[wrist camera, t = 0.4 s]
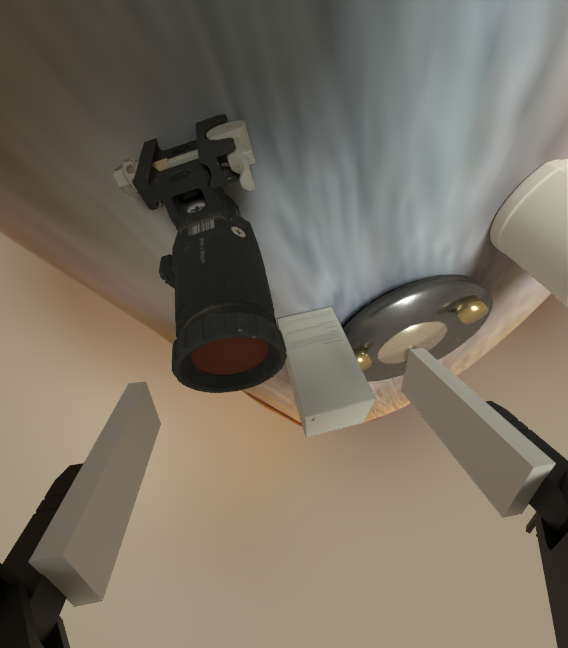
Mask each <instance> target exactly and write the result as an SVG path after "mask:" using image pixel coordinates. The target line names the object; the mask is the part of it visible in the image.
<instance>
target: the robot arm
mask: <svg viewBox="0 0 568 648" xmlns="http://www.w3.org/2000/svg"><path fill="white" fill-rule="evenodd" d="M401 391H402V392H403V393H404V395H405V396H406V397H407V398H408V400H409V401H410V402H411V403H412V405H413V406H414V407H415V408H416V410H417V411H418V412H419V413H420V415H421V416H422V417H423V418H424V419H425V421H426V422H427V423H428V425H429V426H430V427H431V428H432V429H433V431H434V432H435V433H436V435H437V436H438V437H439V438H440V440H441V441H442V442H443V443H444V445H445V446H446V447H447V448H448V450H449V451H450V452H451V454H452V455H453V456H454V457H455V459H456V460H457V461H458V462H459V464H460V465H461V466H462V467H463V469H464V470H465V471H466V472H467V474H468V475H469V476H470V477H471V479H472V480H473V481H474V482H475V483H476V485H477V486H478V487H479V489H480V490H481V491H482V492H483V493H484V495H485V496H486V497H487V499H488V500H489V501H490V502H491V504H492V505H493V506H494V507H495V509H496V510H497V511H498V512H499V514H500V515H501V516H502V517H507V516H513V515H518V514H522V513H523V511H524V510H525V508H526V507H527V505H528V504H530V505H531V506H532V507H533V508H534V509H535V510H536V513H535V515H534V516H533V518H532V519H531V520H530V522H529V523H528V524H527V526H526V532H528V533H531V531H532V530H533V528H534V527H535V526H536V531H537V534H536V536H537V537H538V542H539V547H540V553H541V558H542V564H543V570H544V575H545V580H546V585H547V591H548V597H549V602H550V608H551V613H552V618H553V624H554V629H555V635H556V641H557V646H558V648H568V461H567V460H566V459H565V458H564V457H563V456H561V455H560V454H559V453H558V452H557V451H556V450H554V449H553V448H552V447H551V446H550V445H548V444H547V443H546V442H545V441H544V440H542V439H541V438H540V437H539V436H538V435H536V434H535V433H534V432H533V431H532V430H529V429H528V427H526V425H524V424H523V423H522V422H520V421H518V419H517V418H516V417H515V416H514V415H512V414H511V413H510V412H509V411H508V410H506V409H505V408H503V407H501V406H499V405H497V404H496V403H494V402H492V401H486V402H485V401H483V400H482V399H481V398H480V397H479V396H478V395H477V394H476V393H475V392H474V391H472V390H471V389H470V388H469V387H468V386H467V385H465V384H464V383H463V382H462V381H461V380H460V379H459V378H457V377H456V376H455V375H454V374H453V373H452V372H451V371H449V370H448V369H447V368H446V367H445V366H444V365H443V364H441V363H440V362H439V361H438V360H437V359H436V358H435V357H433V356H432V355H431V354H430V353H429V352H428V351H427V350H425V349H424V348H417V349H410V350H409V355H408V359H407V364H406V369H405V374H404V378H403V383H402V388H401ZM160 425H161V423H160V420H159V417H158V414H157V412H156V409H155V406H154V403H153V400H152V398H151V395H150V392H149V389H148V386H147V383H146V382H139V383H130V384H128V385H127V387H126V389H125V391H124V393H123V394H122V396H121V398H120V400H119V401H118V403H117V405H116V407H115V409H114V410H113V412H112V414H111V416H110V418H109V419H108V421H107V423H106V425H105V427H104V428H103V430H102V432H101V434H100V435H99V437H98V439H97V441H96V442H95V444H94V446H93V448H92V450H91V451H90V453H89V455H88V457H87V459H86V460H85V462H84V463H83V464H76V465H70V466H69V467H68V468H67V469H66V470H65V471H64V472H63V473H62V474H61V475H60V476H59V477H58V478H57V479H56V480H55V481H54V483H53V484H52V486H51V488H50V489H49V491H48V492H47V494H46V496H45V499H44V500H42V502H41V504H40V505H39V507H38V508H37V510H36V514H34V515H33V516H32V518H31V519H30V521H29V523H28V524H27V526H26V528H25V529H24V531H23V532H22V534H21V535H20V537H19V539H18V541H17V542H16V543H15V545H14V547H13V548H12V550H11V551H10V553H9V555H8V556H7V558H6V559H5V561H4V563H3V564H1V563H0V648H70V646H69V642H68V639H67V635H66V631H65V627H64V624H63V620H62V619H61V617H60V616H59V614H60V612H61V610H62V607H63V605H64V603H65V600H66V599H67V600H68V601H69V602H70V603H71V604H72V605H73V606H74V607H76V606H80V605H85V604H90V603H95V602H99V601H103V598H104V595H105V592H106V589H107V585H108V582H109V580H110V577H111V573H112V570H113V567H114V565H115V561H116V558H117V555H118V552H119V549H120V546H121V543H122V540H123V537H124V534H125V531H126V528H127V525H128V522H129V519H130V516H131V513H132V510H133V507H134V503H135V501H136V498H137V495H138V492H139V489H140V485H141V483H142V480H143V477H144V474H145V470H146V467H147V464H148V461H149V458H150V455H151V452H152V449H153V446H154V443H155V440H156V437H157V434H158V431H159V428H160Z"/></svg>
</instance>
